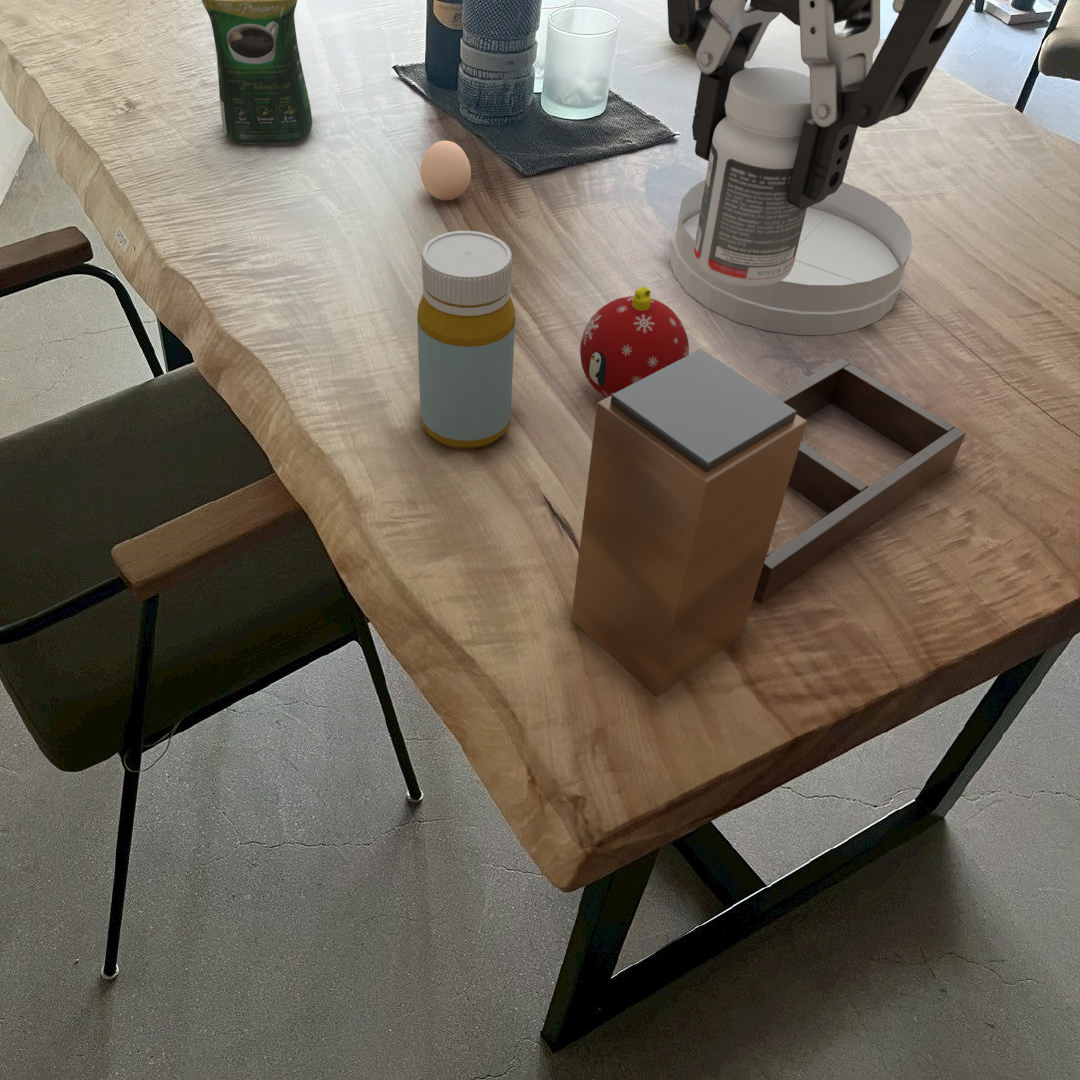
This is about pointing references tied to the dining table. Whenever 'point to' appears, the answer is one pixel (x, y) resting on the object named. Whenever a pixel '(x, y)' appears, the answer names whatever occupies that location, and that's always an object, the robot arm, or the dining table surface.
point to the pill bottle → (754, 180)
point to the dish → (810, 268)
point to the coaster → (703, 409)
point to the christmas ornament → (630, 342)
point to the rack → (840, 489)
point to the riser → (673, 545)
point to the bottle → (466, 339)
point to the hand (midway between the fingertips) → (760, 176)
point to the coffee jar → (259, 71)
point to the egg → (445, 170)
